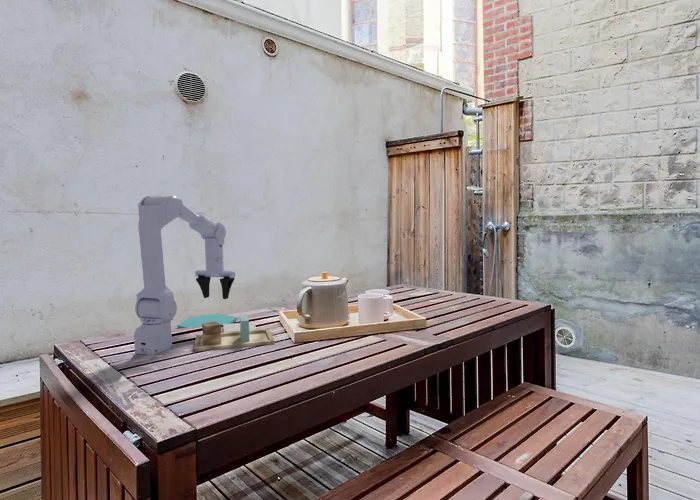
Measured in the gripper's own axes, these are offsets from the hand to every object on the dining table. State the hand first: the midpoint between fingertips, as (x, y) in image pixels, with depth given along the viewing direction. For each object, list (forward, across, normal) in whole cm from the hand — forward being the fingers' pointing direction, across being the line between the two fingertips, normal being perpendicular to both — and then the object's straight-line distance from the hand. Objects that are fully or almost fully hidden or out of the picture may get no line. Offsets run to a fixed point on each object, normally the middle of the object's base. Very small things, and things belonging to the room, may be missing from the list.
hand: (216, 298), depth 149 cm
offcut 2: (+9, -12, +19) cm, 24 cm away
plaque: (+11, +5, -2) cm, 12 cm away
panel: (+9, -19, +14) cm, 25 cm away
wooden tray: (+10, -17, +16) cm, 25 cm away
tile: (+10, -11, +4) cm, 16 cm away
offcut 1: (+6, -12, +19) cm, 23 cm away
